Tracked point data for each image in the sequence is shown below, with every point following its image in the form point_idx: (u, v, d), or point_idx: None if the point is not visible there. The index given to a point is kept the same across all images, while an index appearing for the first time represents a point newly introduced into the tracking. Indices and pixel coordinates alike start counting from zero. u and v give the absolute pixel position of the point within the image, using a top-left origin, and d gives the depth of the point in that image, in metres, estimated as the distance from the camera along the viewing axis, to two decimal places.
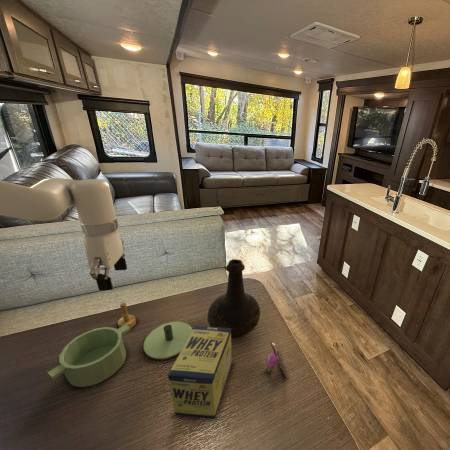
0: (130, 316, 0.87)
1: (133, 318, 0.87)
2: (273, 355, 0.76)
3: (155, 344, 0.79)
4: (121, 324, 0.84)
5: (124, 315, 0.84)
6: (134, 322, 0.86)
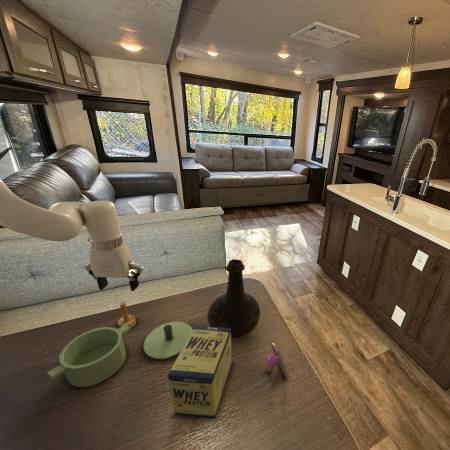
0: (130, 316, 0.87)
1: (133, 318, 0.87)
2: (273, 355, 0.76)
3: (155, 344, 0.79)
4: (121, 324, 0.84)
5: (124, 315, 0.84)
6: (134, 322, 0.86)
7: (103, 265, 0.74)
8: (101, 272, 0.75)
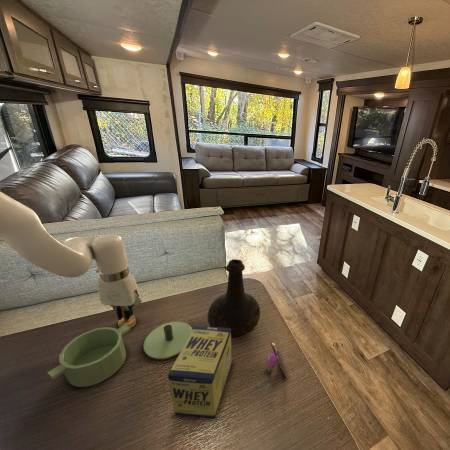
0: None
1: (133, 318, 0.87)
2: (273, 355, 0.76)
3: (155, 344, 0.79)
4: (121, 324, 0.84)
5: None
6: (134, 322, 0.86)
7: (110, 294, 0.78)
8: (108, 301, 0.79)
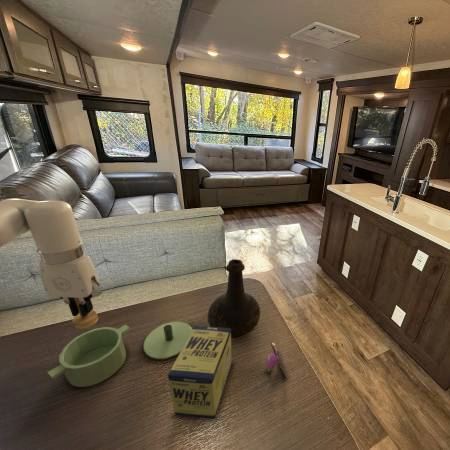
0: (90, 312, 0.68)
1: (94, 314, 0.67)
2: (273, 355, 0.76)
3: (155, 344, 0.79)
4: (76, 322, 0.64)
5: None
6: (95, 319, 0.67)
7: (57, 282, 0.58)
8: (55, 291, 0.59)
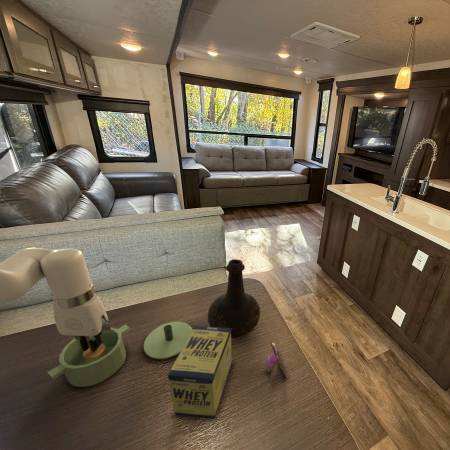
0: None
1: (102, 348, 0.71)
2: (273, 355, 0.76)
3: (155, 344, 0.79)
4: (86, 356, 0.69)
5: None
6: (103, 353, 0.71)
7: (70, 323, 0.63)
8: (68, 330, 0.64)
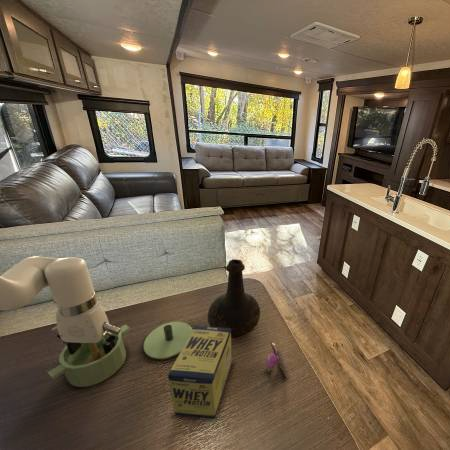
0: (102, 353, 0.73)
1: None
2: (273, 355, 0.76)
3: (155, 344, 0.79)
4: None
5: (93, 353, 0.70)
6: None
7: (72, 330, 0.64)
8: (70, 337, 0.65)
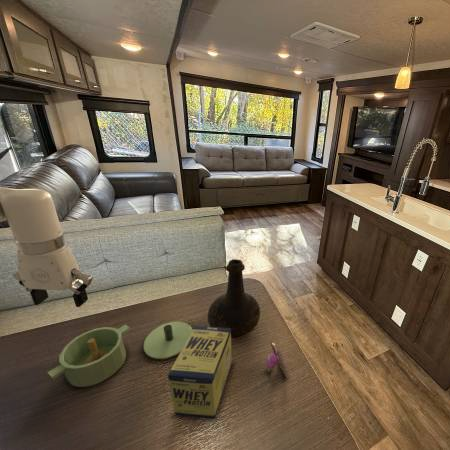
0: (102, 353, 0.73)
1: None
2: (273, 355, 0.76)
3: (155, 344, 0.79)
4: None
5: (93, 353, 0.70)
6: None
7: (35, 274, 0.56)
8: (33, 283, 0.57)
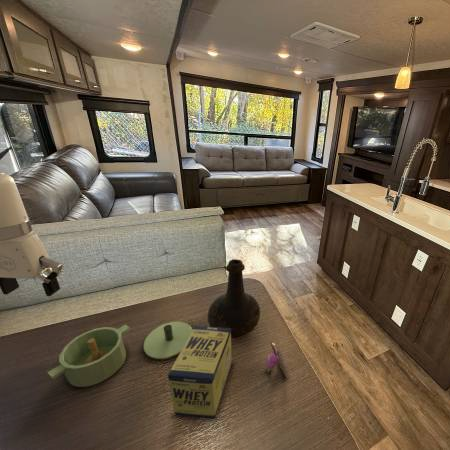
0: (102, 353, 0.73)
1: None
2: (273, 355, 0.76)
3: (155, 344, 0.79)
4: None
5: (93, 353, 0.70)
6: None
7: (1, 261, 0.55)
8: None
